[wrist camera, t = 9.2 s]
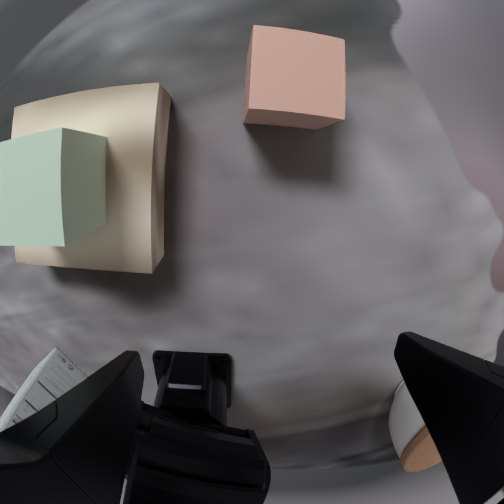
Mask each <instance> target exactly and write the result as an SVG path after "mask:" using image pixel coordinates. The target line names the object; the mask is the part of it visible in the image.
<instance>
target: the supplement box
mask: <svg viewBox="0 0 504 504" xmlns="http://www.w3.org/2000/svg"><path fill="white" fill-rule="evenodd" d="M86 378H87V376H86V375H85V374H84V373H83V372H81V371H80V370H79V369H78V368H77V367H76V366H75V365H74V364H73V363H72V362H71V361H70V360H69V359H68V358H67V357H66V356H65V355H64V354H63V353H62V352H61V351H60V350H59V349H58V348H57V347H56V348H54V349H53V350H52V351H51V352H50V353H49V354H48V355H47V356H46V357H45V358H44V359H43V360H42V361H41V362H40V363H39V364H38V365H37V366H36V367H35V368H34V370H33V371H32V372H31V373H30V375H29V376H28V378H27V379H26V380H25V382H24V383H23V385H22V386H21V388H20V389H19V391H18V392H17V393H16V395H15V397H14V398H13V399H12V401H11V402H10V404H9V405H8V407H7V408H6V410H5V411H4V413H3V415H2V416H1V418H0V432H1V431H3V430H5V429H7V428H9V427H11V426H12V425H14V424H16V423H18V422H20V421H22V420H24V419H25V418H27V417H29V416H31V415H32V414H34V413H36V412H37V411H39V410H41V409H42V408H44V407H45V406H47V405H48V404H50V403H51V402H53V401H54V400H56V399H57V398H58V397H60V396H61V395H63V394H64V393H66V392H67V391H69V390H70V389H72V388H73V387H74V386H76V385H77V384H79V383H80V382H82V381H83V380H85V379H86Z"/></svg>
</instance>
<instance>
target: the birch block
mask: <svg viewBox="0 0 504 504" xmlns="http://www.w3.org/2000/svg"><path fill="white" fill-rule="evenodd" d="M170 104H171V96H170V95H169V94H168V92H167V91H166V90H165V89H164V88H163V86H162V85H161V84H160V83H148V84H134V85H124V86H115V87H107V88H100V89H93V90H87V91H81V92H75V93H70V94H65V95H60V96H56V97H51V98H47V99H43V100H39V101H35V102H32V103H28V104H24V105H21V106H18V107H15V109H14V117H13V125H12V136H11V139H14V138H18V137H22V136H26V135H30V134H34V133H38V132H43V131H47V130H52V129H57V128H68V129H73V130H77V131H82V132H87V133H92V134H96V135H100V136H105V137H107V143H106V216H107V224H105V225H103V226H101V227H99V228H97V229H95V230H93V231H92V232H90V233H88V234H86V235H84V236H82V237H81V238H79V239H77V240H75V241H73V242H72V243H70V244H68V245H66V246H14V247H15V254H16V261H17V263H25V264H35V265H46V266H57V267H68V268H80V269H93V270H106V271H120V272H135V273H150V274H152V273H153V271H154V270H155V268H156V267H157V265H158V264H159V262H160V261H161V259H162V258H163V256H164V190H165V167H166V150H167V136H168V124H169V113H170Z"/></svg>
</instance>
